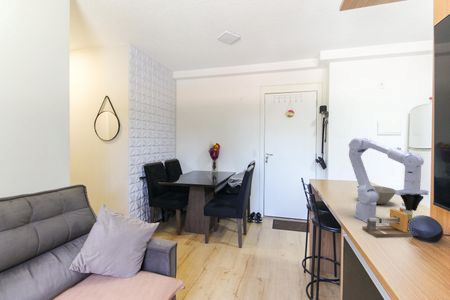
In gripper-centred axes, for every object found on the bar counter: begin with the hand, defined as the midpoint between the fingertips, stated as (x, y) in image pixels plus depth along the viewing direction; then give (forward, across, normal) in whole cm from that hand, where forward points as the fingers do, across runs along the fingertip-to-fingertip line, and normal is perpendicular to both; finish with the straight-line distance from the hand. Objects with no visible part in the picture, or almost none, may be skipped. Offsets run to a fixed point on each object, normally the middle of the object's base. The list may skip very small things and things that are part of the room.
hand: (410, 210), depth 103 cm
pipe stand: (+10, -10, 0) cm, 14 cm away
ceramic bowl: (+11, +21, +48) cm, 53 cm away
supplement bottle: (+11, +12, +15) cm, 22 cm away
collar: (+8, -6, 0) cm, 10 cm away
